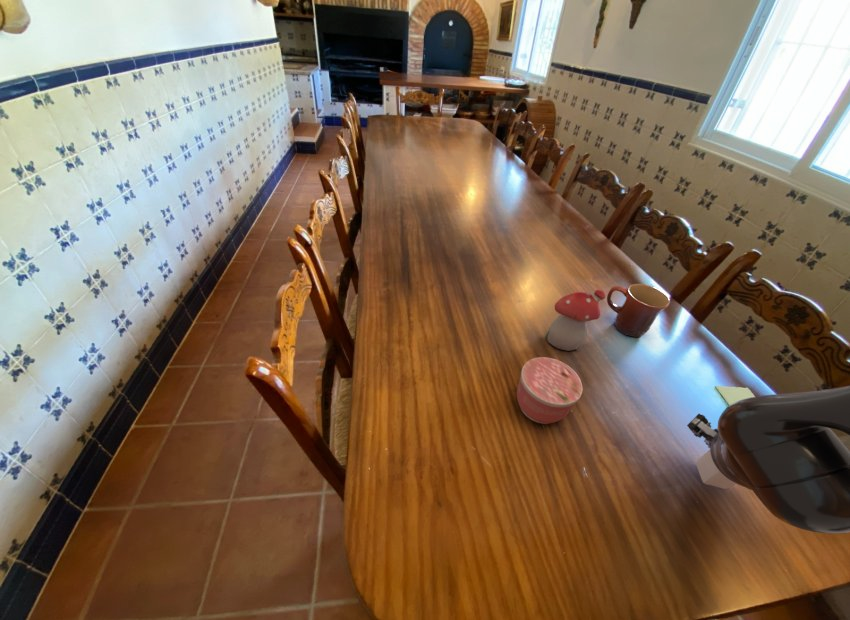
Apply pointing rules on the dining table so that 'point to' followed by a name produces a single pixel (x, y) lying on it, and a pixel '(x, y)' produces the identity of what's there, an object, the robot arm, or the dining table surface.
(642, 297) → the mug
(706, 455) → the salt shaker
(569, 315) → the decorative ornament
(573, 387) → the container
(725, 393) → the edge strip
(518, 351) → the dining table surface
